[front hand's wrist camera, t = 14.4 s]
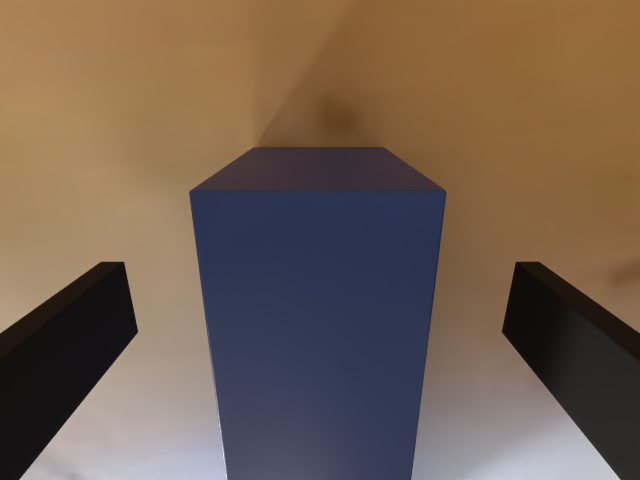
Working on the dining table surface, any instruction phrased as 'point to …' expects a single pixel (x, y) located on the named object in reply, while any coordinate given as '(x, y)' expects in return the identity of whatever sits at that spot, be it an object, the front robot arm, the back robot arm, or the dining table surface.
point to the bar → (318, 309)
